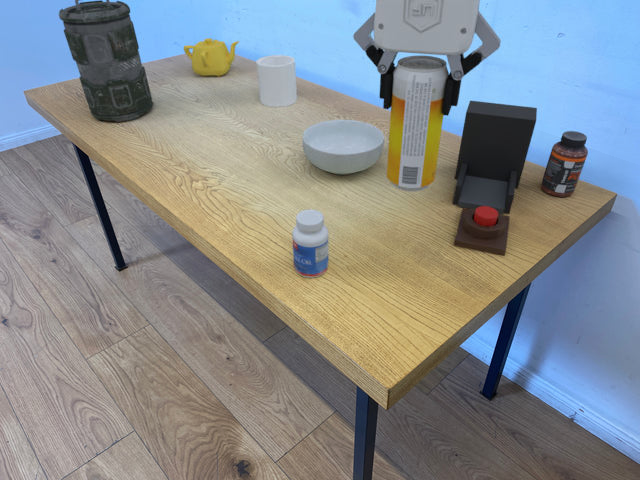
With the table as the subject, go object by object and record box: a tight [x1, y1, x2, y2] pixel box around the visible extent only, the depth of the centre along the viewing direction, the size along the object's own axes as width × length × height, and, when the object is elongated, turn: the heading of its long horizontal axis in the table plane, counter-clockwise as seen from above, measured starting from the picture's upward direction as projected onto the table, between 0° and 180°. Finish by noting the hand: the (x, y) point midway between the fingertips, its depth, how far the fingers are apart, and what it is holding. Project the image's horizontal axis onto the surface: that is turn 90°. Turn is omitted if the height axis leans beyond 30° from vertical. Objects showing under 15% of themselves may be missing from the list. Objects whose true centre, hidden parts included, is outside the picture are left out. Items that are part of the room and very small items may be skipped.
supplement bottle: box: [540, 130, 589, 198], centre depth 87 cm, size 6×6×11 cm
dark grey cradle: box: [452, 100, 538, 215], centre depth 87 cm, size 12×16×14 cm
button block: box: [453, 207, 511, 256], centre depth 79 cm, size 8×10×3 cm
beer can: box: [386, 55, 450, 193], centre depth 56 cm, size 6×6×15 cm
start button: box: [474, 206, 498, 227], centre depth 78 cm, size 4×4×2 cm
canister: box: [58, 0, 154, 123], centre depth 118 cm, size 16×16×28 cm
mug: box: [256, 54, 298, 108], centre depth 128 cm, size 14×10×11 cm
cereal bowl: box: [301, 119, 385, 175], centre depth 98 cm, size 17×17×7 cm
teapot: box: [183, 37, 240, 77], centre depth 147 cm, size 14×13×10 cm
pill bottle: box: [291, 208, 330, 279], centre depth 71 cm, size 6×5×10 cm
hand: (417, 106), depth 55 cm, fingers closed on beer can, 6 cm apart
